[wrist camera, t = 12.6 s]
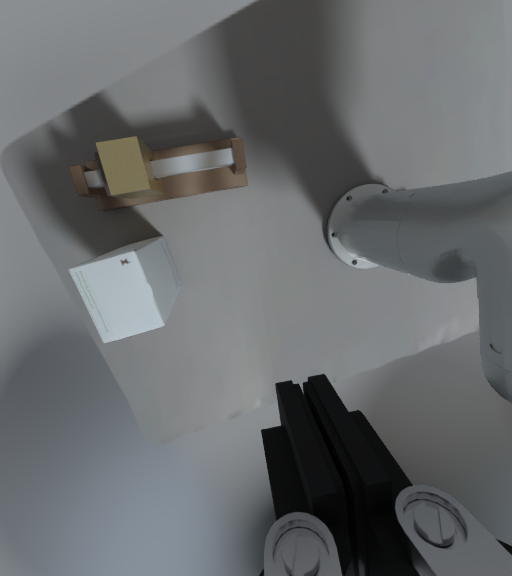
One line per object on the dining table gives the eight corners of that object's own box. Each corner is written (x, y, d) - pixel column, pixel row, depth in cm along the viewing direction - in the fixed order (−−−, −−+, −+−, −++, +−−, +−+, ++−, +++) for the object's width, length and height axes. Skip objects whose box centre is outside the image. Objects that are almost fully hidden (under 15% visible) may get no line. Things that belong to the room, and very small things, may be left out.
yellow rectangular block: (153, 151, 35) (136, 136, 28) (163, 193, 36) (150, 188, 29) (120, 156, 35) (95, 142, 28) (132, 199, 36) (111, 195, 29)
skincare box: (121, 246, 40) (61, 264, 25) (166, 233, 41) (134, 244, 26) (142, 300, 43) (99, 346, 28) (185, 288, 43) (165, 327, 28)
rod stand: (239, 139, 39) (243, 120, 31) (247, 185, 40) (253, 178, 32) (90, 164, 37) (54, 150, 30) (104, 210, 39) (74, 209, 31)
